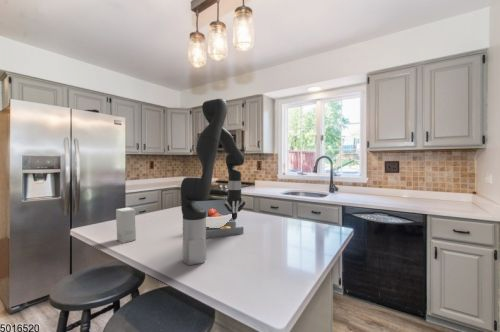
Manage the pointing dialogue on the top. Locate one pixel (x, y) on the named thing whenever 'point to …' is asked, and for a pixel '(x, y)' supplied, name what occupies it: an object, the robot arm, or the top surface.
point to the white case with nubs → (224, 230)
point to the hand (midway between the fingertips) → (234, 219)
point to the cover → (215, 206)
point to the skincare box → (125, 224)
